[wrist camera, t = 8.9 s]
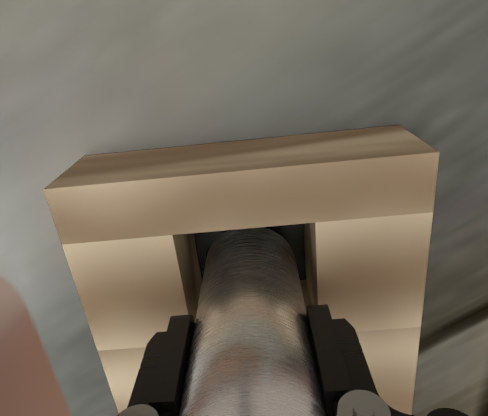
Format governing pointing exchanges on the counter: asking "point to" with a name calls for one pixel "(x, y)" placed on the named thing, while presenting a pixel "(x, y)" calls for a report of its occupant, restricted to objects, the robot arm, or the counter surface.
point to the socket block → (254, 216)
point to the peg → (251, 333)
